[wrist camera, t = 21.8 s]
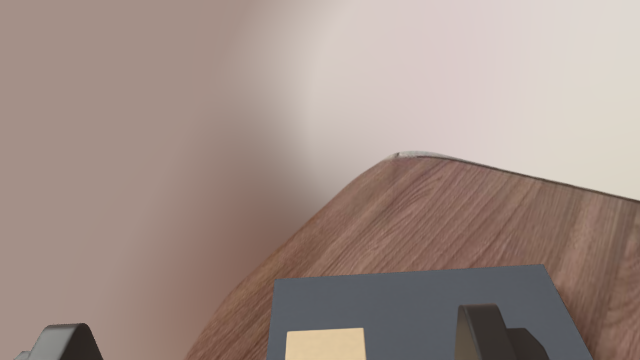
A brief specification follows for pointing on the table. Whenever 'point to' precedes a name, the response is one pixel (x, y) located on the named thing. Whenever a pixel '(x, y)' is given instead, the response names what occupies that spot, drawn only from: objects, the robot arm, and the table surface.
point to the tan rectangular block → (326, 344)
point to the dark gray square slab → (423, 310)
